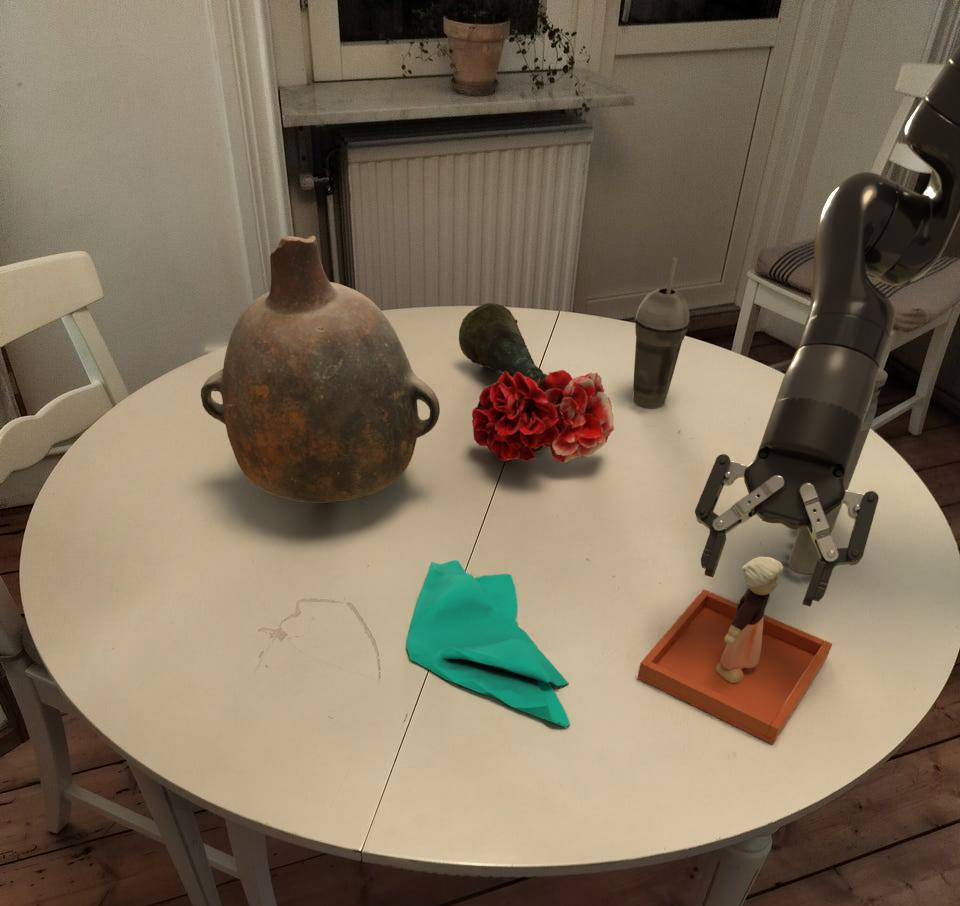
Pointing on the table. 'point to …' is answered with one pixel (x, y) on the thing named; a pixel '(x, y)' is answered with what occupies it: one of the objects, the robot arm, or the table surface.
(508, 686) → the cloth
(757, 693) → the figure tray
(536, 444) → the carnation
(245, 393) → the jug
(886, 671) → the table surface
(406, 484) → the table surface
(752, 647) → the grandmother figurine
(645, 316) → the beverage cup
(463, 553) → the table surface
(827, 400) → the robot arm
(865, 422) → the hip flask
